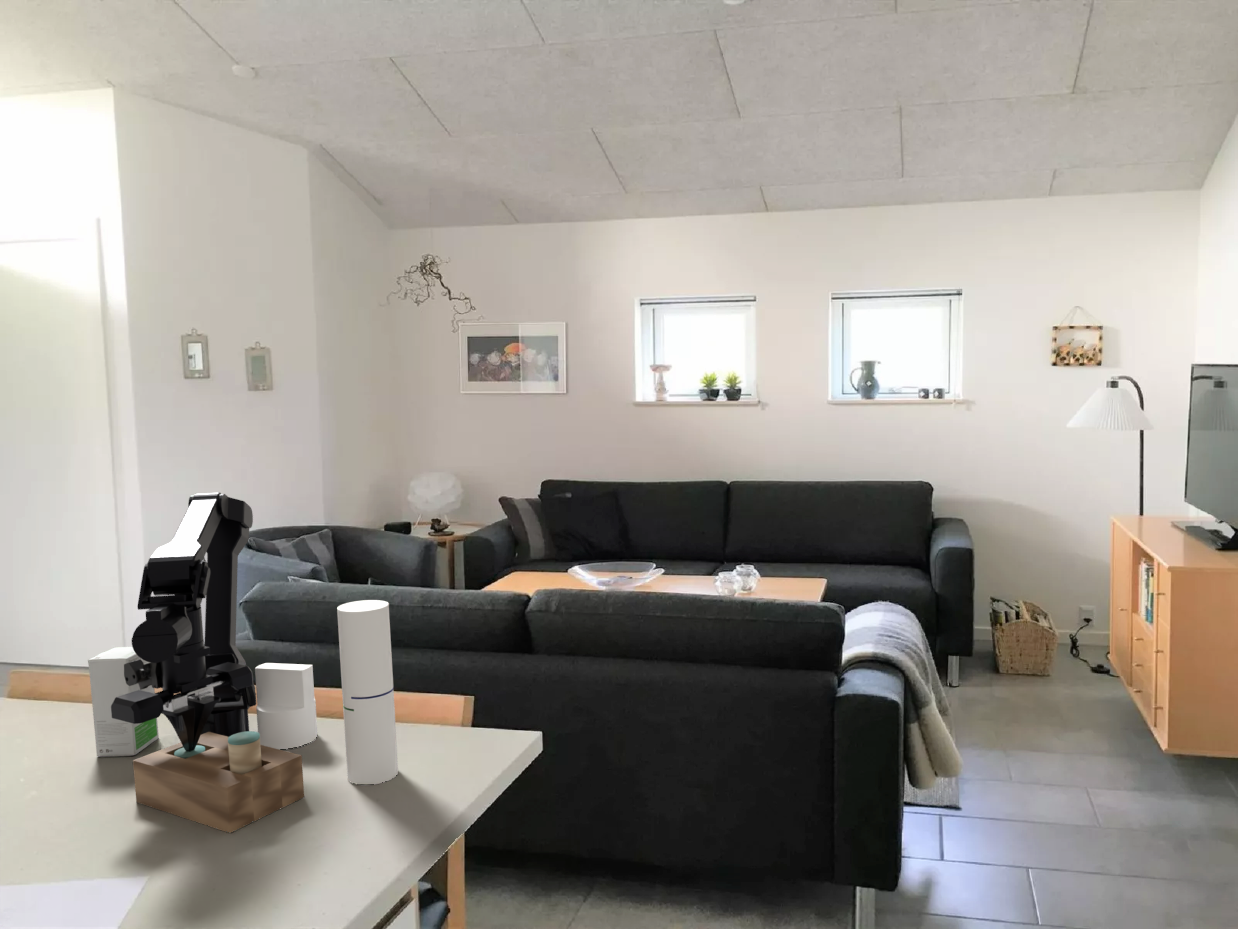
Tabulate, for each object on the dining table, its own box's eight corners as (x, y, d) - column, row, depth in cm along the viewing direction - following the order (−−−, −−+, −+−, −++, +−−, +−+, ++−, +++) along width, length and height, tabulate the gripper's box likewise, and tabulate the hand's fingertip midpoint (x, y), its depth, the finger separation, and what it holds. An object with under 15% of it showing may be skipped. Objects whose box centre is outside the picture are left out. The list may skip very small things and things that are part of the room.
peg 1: (196, 781, 143) (193, 743, 142) (214, 787, 141) (211, 748, 140) (171, 792, 139) (168, 753, 139) (189, 797, 137) (186, 758, 137)
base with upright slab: (328, 731, 162) (324, 659, 161) (297, 751, 154) (292, 676, 153) (279, 728, 164) (275, 657, 163) (246, 748, 156) (241, 673, 155)
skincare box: (134, 757, 154) (126, 659, 152) (92, 758, 154) (84, 660, 153) (160, 737, 162) (153, 644, 161) (120, 738, 162) (113, 645, 161)
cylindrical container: (385, 786, 139) (375, 612, 137) (338, 783, 141) (327, 611, 139) (406, 766, 146) (396, 600, 144) (361, 764, 148) (351, 599, 146)
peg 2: (249, 769, 136) (246, 729, 136) (268, 775, 134) (265, 734, 133) (224, 780, 133) (221, 739, 132) (243, 786, 131) (240, 744, 130)
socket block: (211, 770, 147) (208, 731, 147) (304, 797, 137) (301, 755, 136) (136, 802, 137) (132, 760, 136) (230, 833, 127) (226, 787, 126)
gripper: (203, 620, 150) (210, 720, 152) (82, 652, 134) (92, 763, 136) (252, 628, 144) (259, 732, 146) (132, 662, 128) (141, 779, 130)
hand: (189, 750), depth 139 cm, fingers closed
